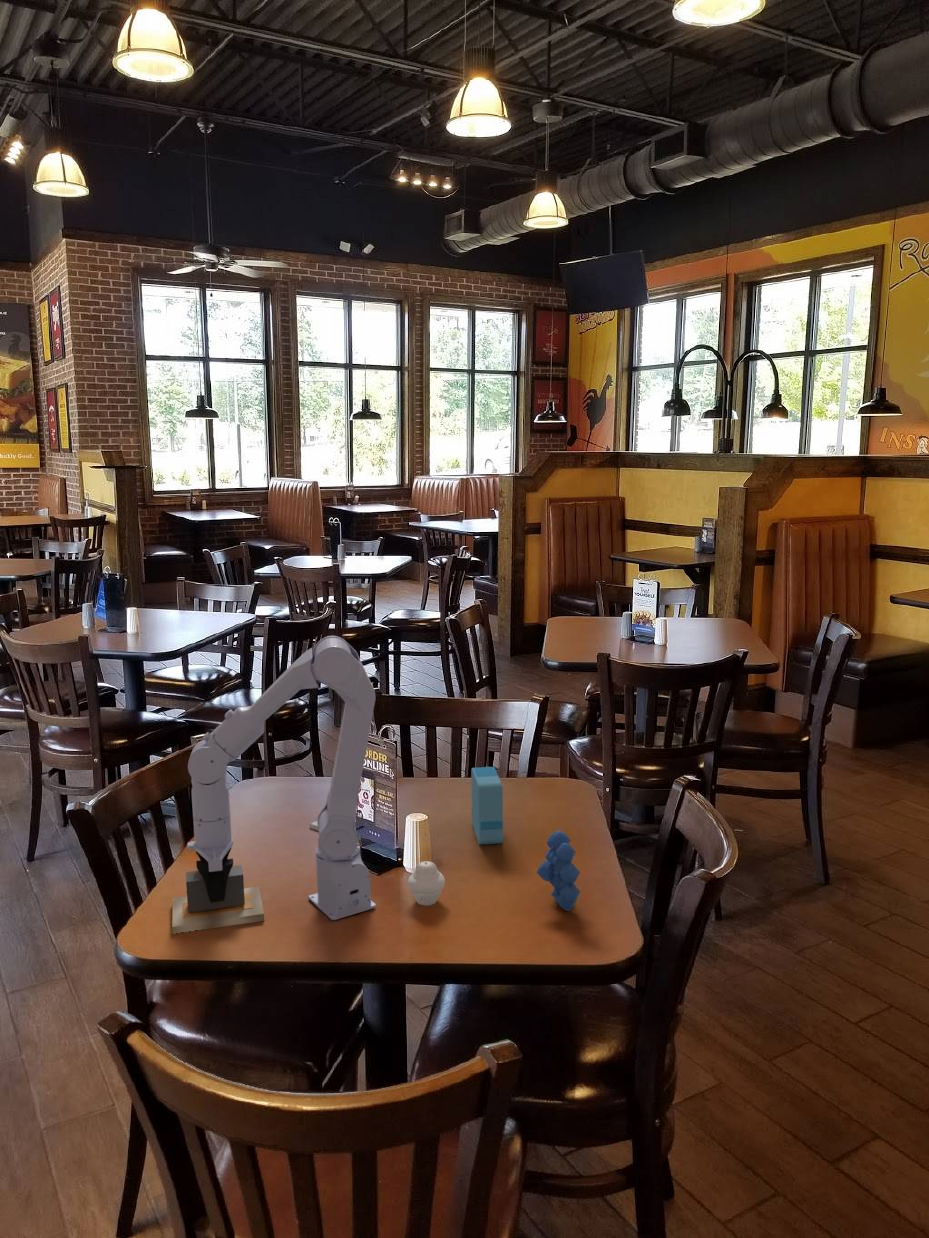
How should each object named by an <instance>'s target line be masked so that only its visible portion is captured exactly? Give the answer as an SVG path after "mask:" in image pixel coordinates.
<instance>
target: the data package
mask: <svg viewBox="0 0 929 1238" xmlns="http://www.w3.org/2000/svg"><path fill="white" fill-rule="evenodd" d="M470 772H471V774H470V775H471V776H470V777H471V781H470V783H471V788H470V789H471V824H472V826H473V830H474V833H475V834H474V835H475V837H476V840H477V843H478V845H494V844H503V841H504V825H503V824H504V822H503V821H504V818H503V817H504V816H503V815H504V814H503V813H504V812H503V811H504V808H503V807H504V805H503V801H504V798H503V797H504V795H503V794H504V792H503V790H504V789H503V785H502V784H503V783H502V781H501V779H500V777H499V775H498V772H497V770H496V768H495V767H494V766H483V767H481V766H480V767H472V768H471V770H470Z"/></svg>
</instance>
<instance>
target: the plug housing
mask: <svg viewBox="0 0 929 1238" xmlns="http://www.w3.org/2000/svg"><path fill="white" fill-rule="evenodd" d="M243 871H244V870H243V865H242V864H238V865H233V866H232V868H231V870H230V873H229V875H228V879H227V884H226V892H225V898H224V901H219V902H212V903H211V902H210V899H209V896H208V893H207V889H206V885H205V882H204V879H203V877H202V876H201V874H200V873H199V871H198V870H192V871H191V870H190V871H186V872H185V884H186V896H187V902H188V913H190V912H197V911H204V910H211V909H218V908H225V907H232V906H239V905H245V898H244V888H245V885H244V883H245V882H244V872H243Z"/></svg>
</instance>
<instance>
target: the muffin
mask: <svg viewBox="0 0 929 1238" xmlns="http://www.w3.org/2000/svg"><path fill="white" fill-rule="evenodd" d="M414 869H415V870H414V872H412V874H411V875H410V876H409V878H408V879H407V884H408V887H409V891H410V892H411V894H412V895H413V898H414V899H415V901H416V902H417V904H418V905H421V906H424V907H425V906H426V907H427V906H432V905H435V904H436V903H437V901H438V900H439V897H440V896H441V894H442V892H443V890H444V886H445V885H446V884H445V883H446V880H445V877H444V875H443V874H442V873H441V872H440V870H438V867H437V864H435V862H432V861H426V860H425V861H420V862H419V863H417V865H416V866H415V867H414Z"/></svg>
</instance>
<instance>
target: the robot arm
mask: <svg viewBox="0 0 929 1238" xmlns="http://www.w3.org/2000/svg"><path fill="white" fill-rule="evenodd" d="M319 682H320V683H322V684H323V685H324V686H326V687H327V688H330V689H332V690H334V691H335V692H336V693H337V695H339V697H340V698H341V699H342V701H344V708H343V712H342V718H341V724H340V732H339V736H338V741H337V747H336V753H335V758H334V764H333V770H332V774H331V776H332V777H331V781H330V788H329V791H328V793H327V797H326V801H325V805H324V806H323V808H322V809H321V810H320V812H319V814H318V816H317V820H316V821H317V824H318V828H319V831H318V839H317V843H318V844H317V846H316V848H315V865H316V866H315V867H316V887H317V888H316V889H317V891H316V893H313V894H309V895H308V900H310V902H312V904H314V905H315V906H316V907H317V908H318V909H319V910H321V912H322V913H324V914H325V915H326V916H327V917H328V918H329V919H330V920H331V921H336V920H337V921H338V920H339V919H342V918H346V917H350V916H352V915H356V914H359V913H362V912H366V911H368V910H372V909H375V908H376V907H377V904H376V903H375V902H374V901H372V899H371V898H372V897H371V896H372V895H371V892H372V891H371V873H370V871H369V869H368V867H367V866H366V865H365V864H364V862H363V860H362V857H361V846H360V843H359V836H358V833H357V829H356V827H355V822H356V813H357V805H358V798H359V793H360V786H361V782H362V781H361V780H362V775H363V770H364V765H365V759H366V753H367V749H368V748H367V747H368V742H369V739H370V738H369V736H370V731H371V727H372V720H373V715H374V708H375V705H376V698H377V697H376V692H375V691H376V690H375V687H374V685H373V684H372V682H371V679H370V678H369V675H368V672H366V669H365V667H364V664H363V662H362V661H361V658H360V656H359V654H358V651H356V649H354V648H353V646H351V644H350V643H349V642H347V641H346V640H345V639H344V638H342V637H340V636H337V635H328V636H325V637H323V638H321V639H320V640H319V641H318V642H317V643H316V644H315V645H314V647H310V648H309V649H307V650H306V651H305V652H303V653H302V654H301V655H300V656H299V657H298V658H297V659H296V660H294V662H292V663H291V664H290V665H289V667H288V668H286V669H285V671H283V672H282V674H281V675H279V676H278V678H277V679H275V681H274V682H273V683H272V684H271V685H270V686H269V687H268V688H267V689H266V690H265V691H264V692H263V693H262V694H261V695H260V696H259V697H258V698H257V699H256V700H255V701H254V703H252V705H249V706H237V708H236V709H234V711H233V709H229V710H228V711H227V712H226V713H224V719H223V721H222V722H221V723H220V724H219V725H217V726H216V727H215V728H214V729H213V730H212V732H206V733H205V734H204V735H202V740H200V741H199V742H197V743H196V744H195V745H194V747H192V751H191V752H190V755H189V759H188V762H187V769H188V770H187V771H188V774H189V775H190V777H191V778H190V779H191V781H190V782H191V785H192V786H191V804H192V805H191V806H192V819H193V821H192V823H193V833H194V834H193V835H194V841H193V840H191V841H188V842H187V844H186V845H187V846H186V847H187V850H188V851H195V854H196V855H197V856H198V858H199V860H196V863H195V864H196V869H197V871H199V873H200V874H201V876H202V877H203V879H204V882H205V885H206V889H207V893H208V896H209V899H210V902H211V903H212V902H219V901H224V898H225V892H226V884H227V879H228V875H229V873H230V870H231V868H232V866H234V858H229V855H230V852H231V850H232V847H233V845H234V839H233V838H234V837H232V836H233V835H232V824H231V823H232V822H231V820H232V819H231V809H230V808H231V807H230V805H231V804H230V788H229V787H230V786H229V784H228V779H227V769H228V764H229V763H231V762H234V761H236V760H237V759H238V758H239V757H240V756H241V755H242V754H243V753H244V752H245V751H246V750H248V748H249V747H251V745H253V744H254V743H255V742H256V741H257V740H258V739H259V738H260V737H261V736H262V735H263V734H264V733H265V721H267V719H269V718H270V717H271V716H272V715H273V714H274V713H275V712H277V711H278V710H279V709H280V708H281V707H283V706H284V705H285V704H286V703H287V702H288V701H289V700H290V699H292V698H293V697H294V696H296V694H297V693H298V692H299V691H301V690H307V689H310V690H311V689H319Z"/></svg>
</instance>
